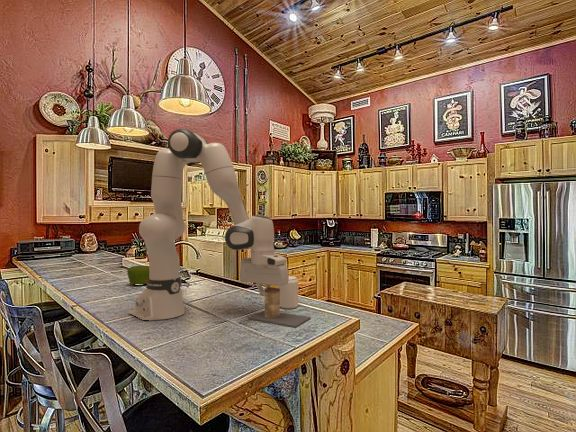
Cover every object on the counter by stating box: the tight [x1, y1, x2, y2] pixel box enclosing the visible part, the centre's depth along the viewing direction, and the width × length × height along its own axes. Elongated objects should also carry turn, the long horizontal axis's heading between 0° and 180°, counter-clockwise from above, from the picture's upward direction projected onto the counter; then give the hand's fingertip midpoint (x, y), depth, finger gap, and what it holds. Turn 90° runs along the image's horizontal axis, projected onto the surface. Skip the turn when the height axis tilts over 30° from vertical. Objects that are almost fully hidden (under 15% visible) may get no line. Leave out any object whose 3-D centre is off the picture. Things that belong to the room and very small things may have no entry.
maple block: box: [264, 286, 281, 318], centre depth 124 cm, size 4×4×10 cm
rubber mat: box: [247, 309, 311, 329], centre depth 123 cm, size 20×11×1 cm, turn 59°
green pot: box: [126, 265, 149, 285], centre depth 188 cm, size 12×12×11 cm
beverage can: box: [277, 275, 299, 310], centre depth 139 cm, size 8×8×12 cm
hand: (263, 295), depth 126 cm, fingers closed
